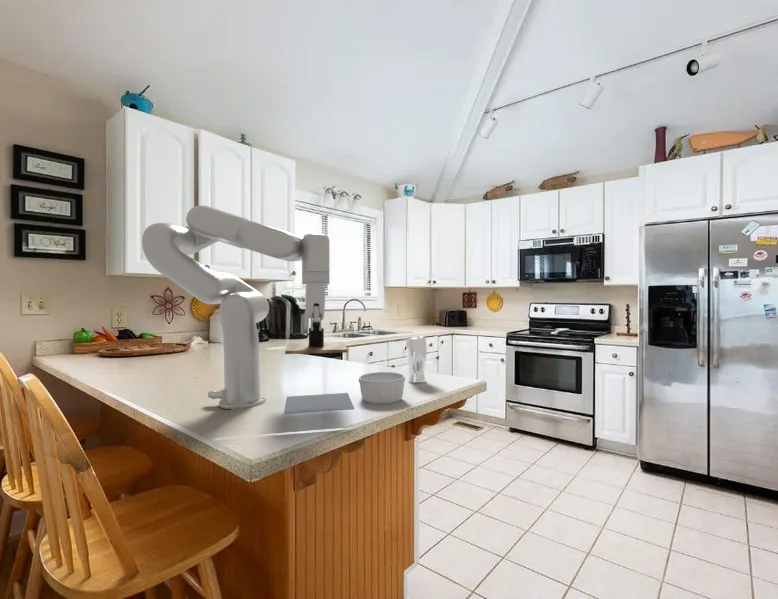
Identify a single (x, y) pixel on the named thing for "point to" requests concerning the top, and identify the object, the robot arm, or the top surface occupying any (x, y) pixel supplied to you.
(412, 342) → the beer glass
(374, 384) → the ramekin
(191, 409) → the top surface
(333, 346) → the lid
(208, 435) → the top surface
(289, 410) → the mat
